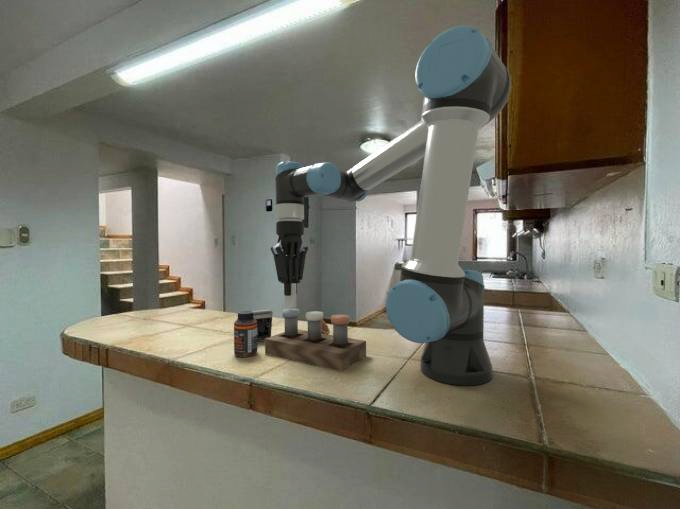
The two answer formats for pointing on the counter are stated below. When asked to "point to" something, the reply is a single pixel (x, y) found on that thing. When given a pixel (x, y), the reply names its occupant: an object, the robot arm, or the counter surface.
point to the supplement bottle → (245, 334)
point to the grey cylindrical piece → (291, 321)
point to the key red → (340, 328)
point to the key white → (314, 324)
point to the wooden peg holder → (316, 350)
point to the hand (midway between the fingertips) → (290, 307)
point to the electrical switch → (263, 323)
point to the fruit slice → (324, 327)
